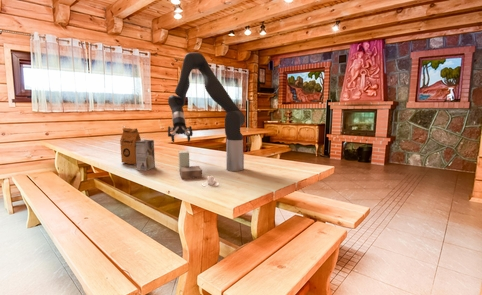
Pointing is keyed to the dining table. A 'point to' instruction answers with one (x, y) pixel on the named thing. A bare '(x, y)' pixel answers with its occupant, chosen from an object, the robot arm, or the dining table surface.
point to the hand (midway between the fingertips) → (181, 141)
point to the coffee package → (129, 145)
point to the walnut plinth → (190, 172)
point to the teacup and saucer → (210, 181)
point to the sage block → (183, 159)
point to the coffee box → (145, 154)
